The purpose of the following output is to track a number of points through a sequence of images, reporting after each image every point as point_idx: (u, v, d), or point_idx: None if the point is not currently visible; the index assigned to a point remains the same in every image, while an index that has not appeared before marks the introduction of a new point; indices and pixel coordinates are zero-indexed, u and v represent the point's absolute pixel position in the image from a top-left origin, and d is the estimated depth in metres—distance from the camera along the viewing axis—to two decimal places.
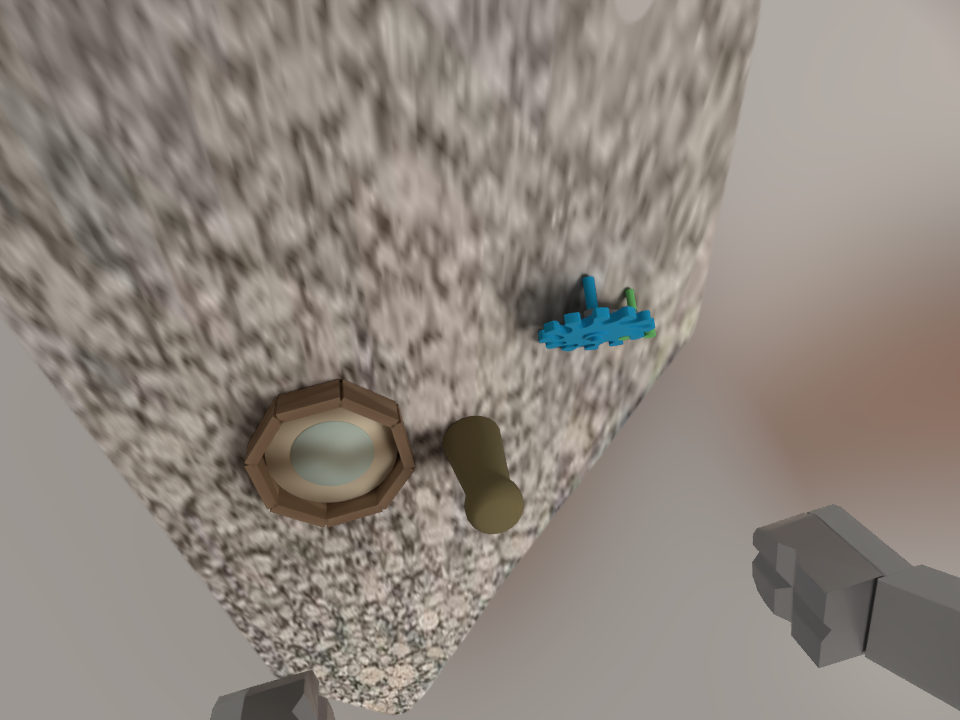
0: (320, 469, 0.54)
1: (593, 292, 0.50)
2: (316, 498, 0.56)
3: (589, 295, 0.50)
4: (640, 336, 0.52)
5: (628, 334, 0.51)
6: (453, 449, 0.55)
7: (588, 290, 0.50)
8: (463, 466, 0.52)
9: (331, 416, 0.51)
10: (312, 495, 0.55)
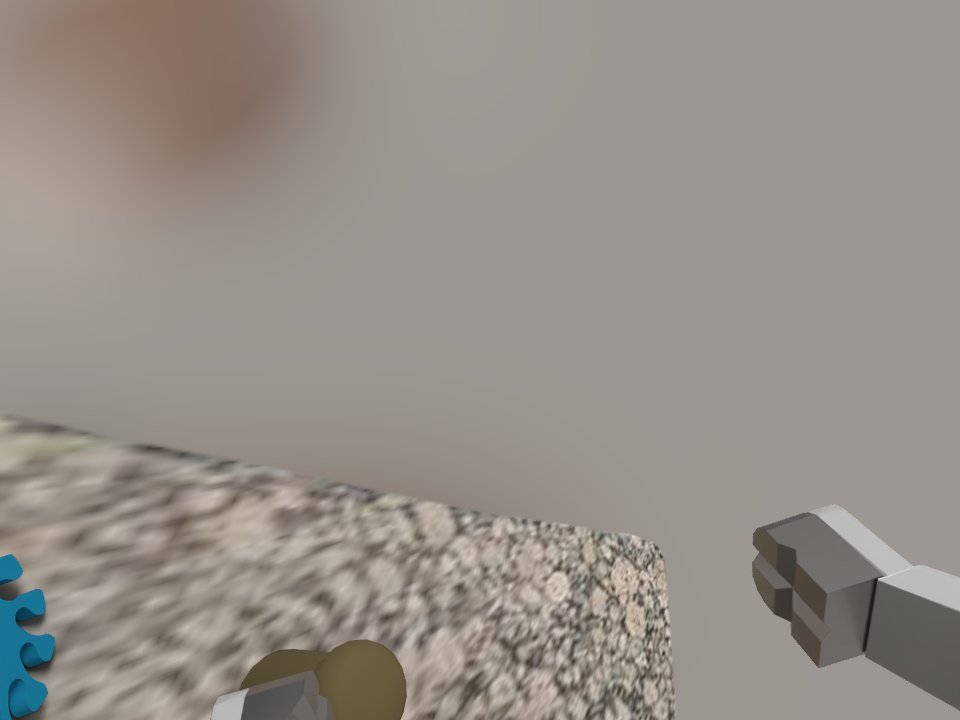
0: None
1: None
2: None
3: None
4: None
5: None
6: None
7: None
8: None
9: None
10: None
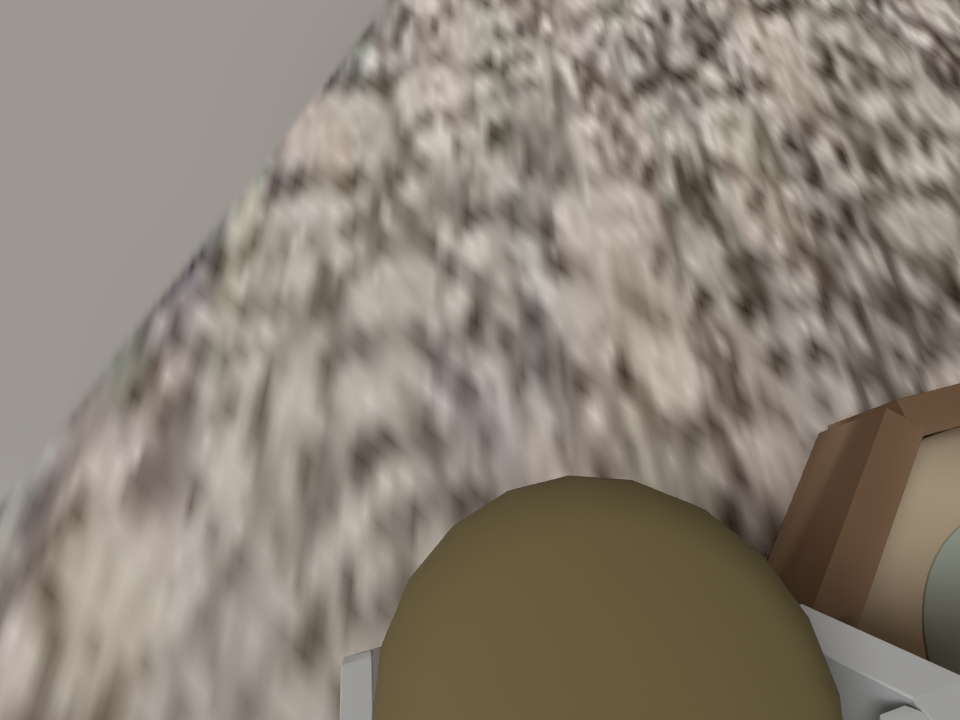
0: None
1: None
2: None
3: None
4: None
5: None
6: None
7: None
8: None
9: None
10: None
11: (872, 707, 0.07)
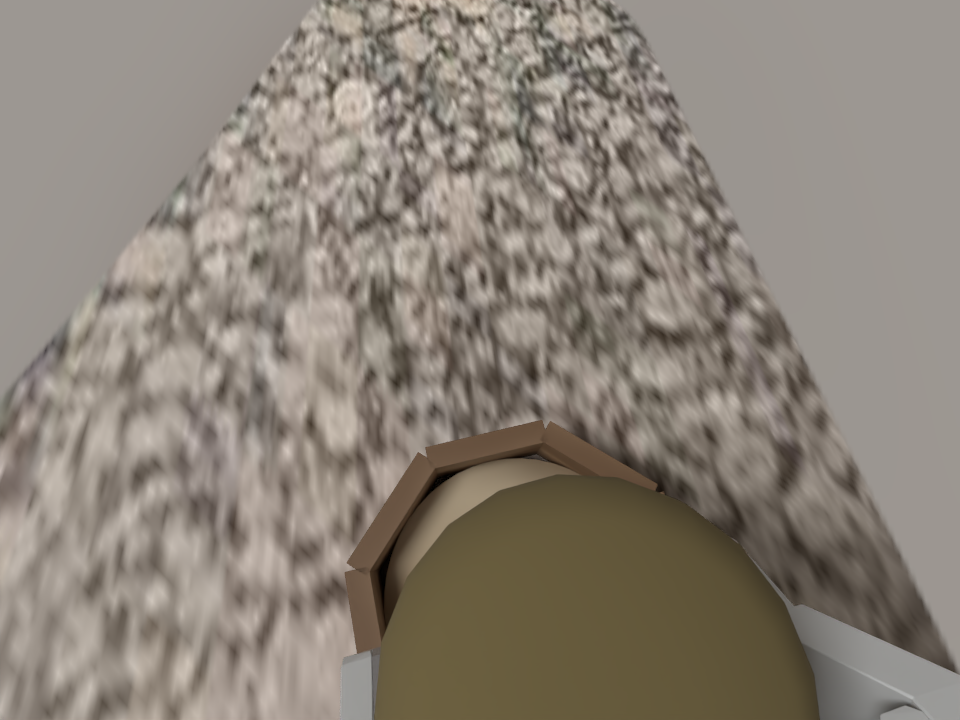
0: None
1: None
2: None
3: None
4: None
5: None
6: None
7: None
8: None
9: None
10: None
11: (872, 707, 0.07)
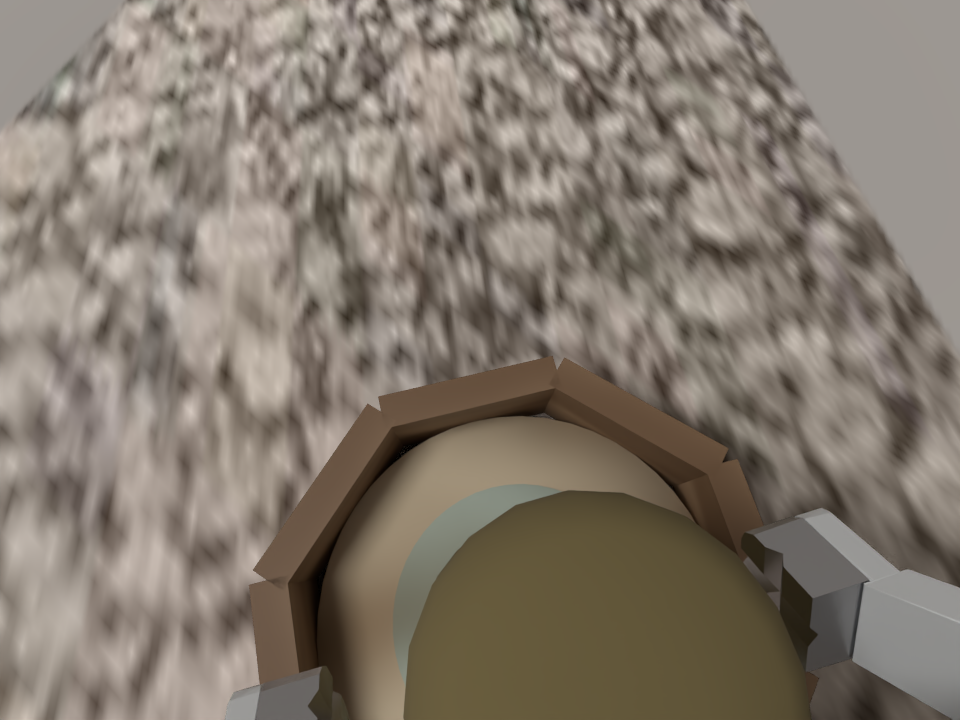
0: None
1: None
2: (577, 439, 0.18)
3: None
4: None
5: None
6: None
7: None
8: None
9: None
10: (588, 452, 0.18)
11: None
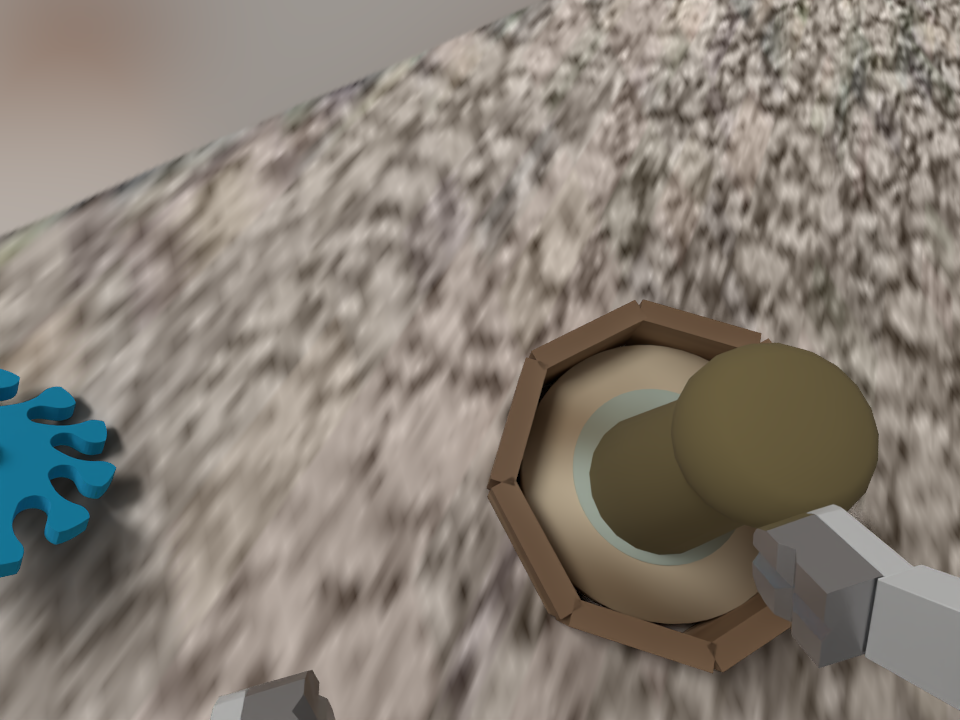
0: None
1: None
2: None
3: None
4: None
5: None
6: None
7: None
8: None
9: (614, 560, 0.24)
10: None
11: None
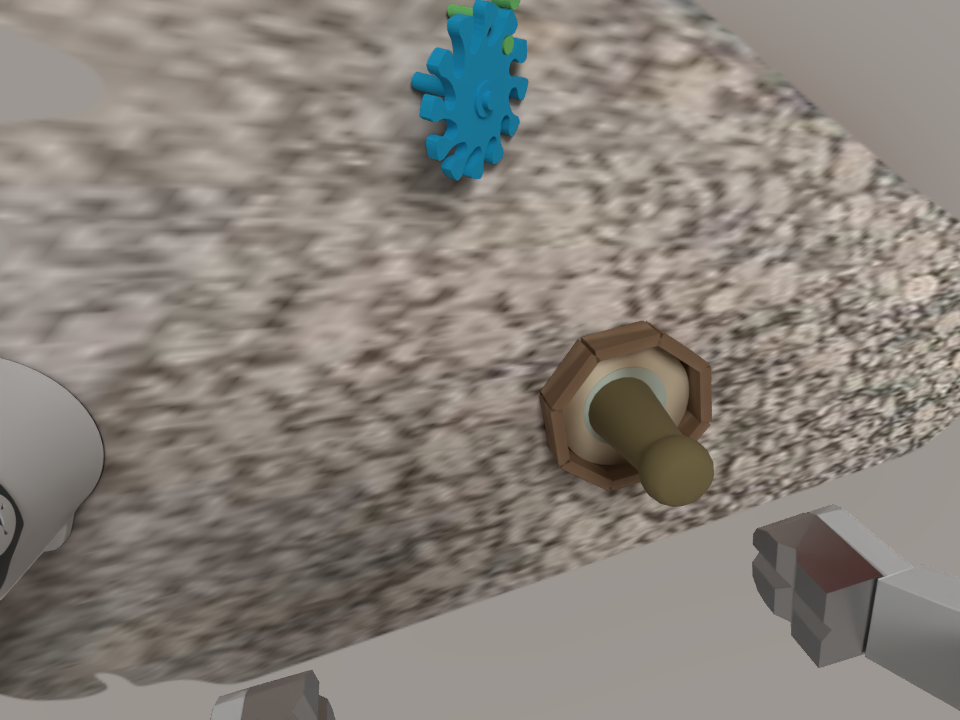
0: None
1: (431, 82, 0.36)
2: (676, 421, 0.51)
3: (433, 90, 0.36)
4: (510, 17, 0.33)
5: (497, 42, 0.33)
6: None
7: (427, 88, 0.36)
8: None
9: (578, 408, 0.48)
10: None
11: None
